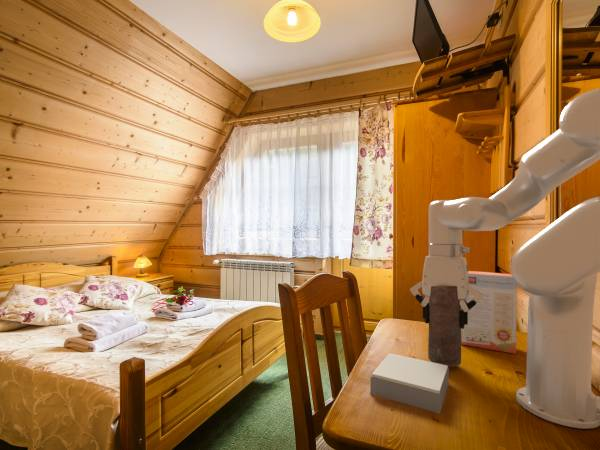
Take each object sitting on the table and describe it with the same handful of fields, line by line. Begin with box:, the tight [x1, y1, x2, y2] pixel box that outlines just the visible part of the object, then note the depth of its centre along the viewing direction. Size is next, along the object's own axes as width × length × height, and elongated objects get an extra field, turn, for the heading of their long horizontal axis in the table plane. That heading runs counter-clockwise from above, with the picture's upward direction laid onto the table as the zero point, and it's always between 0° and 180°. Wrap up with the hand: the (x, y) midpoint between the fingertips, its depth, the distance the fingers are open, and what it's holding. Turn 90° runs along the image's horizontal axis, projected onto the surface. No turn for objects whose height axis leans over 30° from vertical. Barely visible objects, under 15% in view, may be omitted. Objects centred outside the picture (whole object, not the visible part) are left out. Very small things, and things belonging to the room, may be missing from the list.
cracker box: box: [461, 270, 518, 355], centre depth 94 cm, size 14×6×21 cm, turn 59°
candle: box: [427, 286, 462, 367], centre depth 80 cm, size 8×7×20 cm
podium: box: [369, 352, 450, 415], centre depth 68 cm, size 13×13×4 cm
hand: (444, 324), depth 80 cm, fingers closed on candle, 7 cm apart
